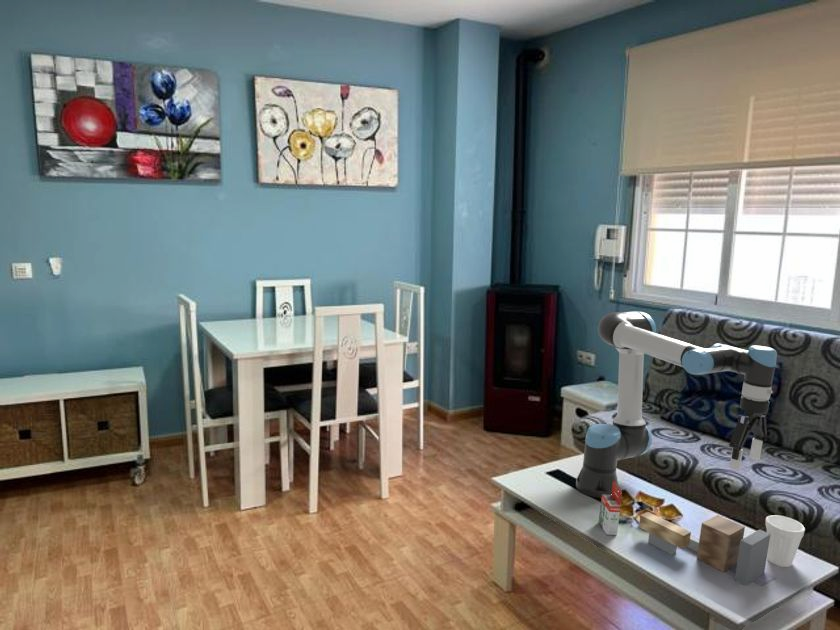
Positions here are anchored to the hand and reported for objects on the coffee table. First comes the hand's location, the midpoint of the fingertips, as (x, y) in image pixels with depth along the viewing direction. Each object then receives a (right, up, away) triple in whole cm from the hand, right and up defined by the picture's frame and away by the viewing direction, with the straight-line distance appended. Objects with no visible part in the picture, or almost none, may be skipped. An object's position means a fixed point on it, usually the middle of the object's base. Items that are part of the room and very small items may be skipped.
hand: (744, 464), depth 187 cm
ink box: (-40, -23, +8) cm, 46 cm away
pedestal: (-27, -25, -4) cm, 37 cm away
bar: (-27, -20, -5) cm, 34 cm away
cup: (+6, -28, -8) cm, 29 cm away
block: (-13, -26, -10) cm, 30 cm away
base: (-14, -27, -8) cm, 31 cm away
